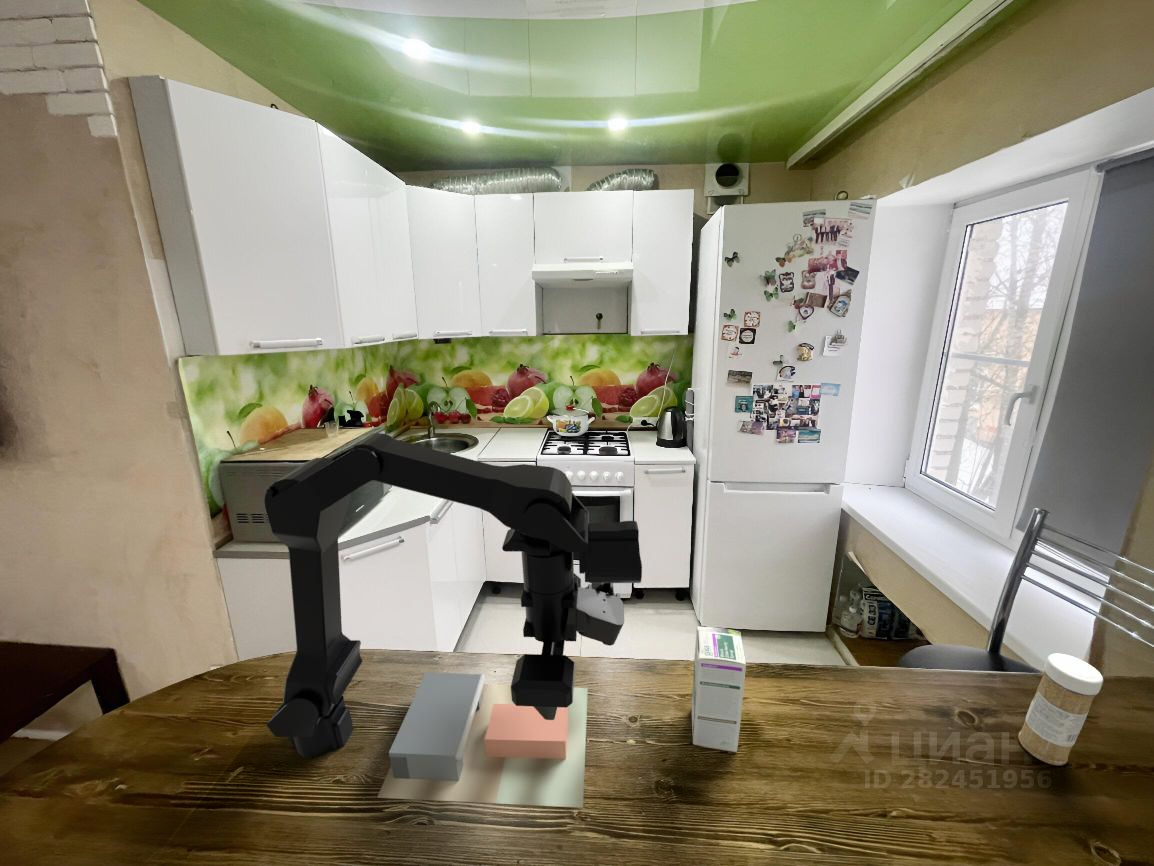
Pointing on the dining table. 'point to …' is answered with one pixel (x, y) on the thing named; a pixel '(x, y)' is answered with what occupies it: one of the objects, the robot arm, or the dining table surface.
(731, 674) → the syrup box
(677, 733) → the dining table surface
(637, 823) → the dining table surface
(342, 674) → the robot arm
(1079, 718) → the sprinkles bottle
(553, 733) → the pink eraser
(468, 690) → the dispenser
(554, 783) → the board
